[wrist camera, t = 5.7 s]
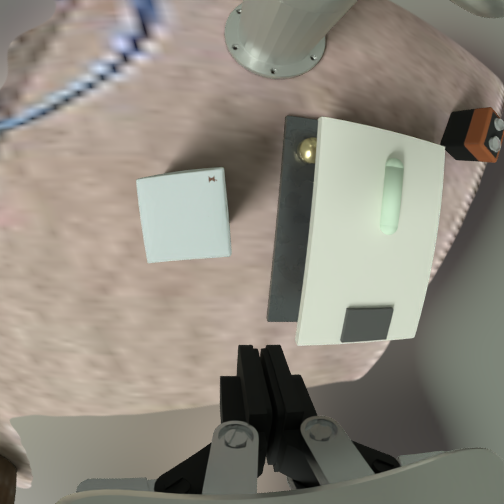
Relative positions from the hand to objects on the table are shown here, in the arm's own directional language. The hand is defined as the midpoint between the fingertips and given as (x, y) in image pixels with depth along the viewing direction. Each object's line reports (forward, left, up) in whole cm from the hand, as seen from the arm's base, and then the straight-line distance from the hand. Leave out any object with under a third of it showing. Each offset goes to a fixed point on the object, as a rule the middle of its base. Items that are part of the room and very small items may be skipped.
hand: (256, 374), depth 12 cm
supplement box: (-4, -4, -27) cm, 28 cm away
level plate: (-2, +16, -21) cm, 26 cm away
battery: (-18, +33, -27) cm, 46 cm away
